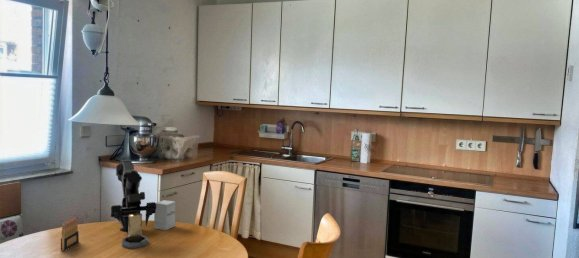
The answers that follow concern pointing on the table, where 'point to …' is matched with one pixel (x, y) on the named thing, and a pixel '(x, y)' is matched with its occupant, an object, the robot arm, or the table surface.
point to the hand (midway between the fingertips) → (135, 226)
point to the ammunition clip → (69, 233)
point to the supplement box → (164, 215)
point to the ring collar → (134, 243)
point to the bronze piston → (134, 227)
